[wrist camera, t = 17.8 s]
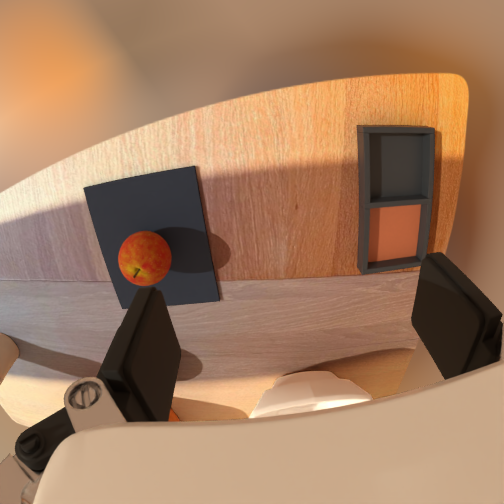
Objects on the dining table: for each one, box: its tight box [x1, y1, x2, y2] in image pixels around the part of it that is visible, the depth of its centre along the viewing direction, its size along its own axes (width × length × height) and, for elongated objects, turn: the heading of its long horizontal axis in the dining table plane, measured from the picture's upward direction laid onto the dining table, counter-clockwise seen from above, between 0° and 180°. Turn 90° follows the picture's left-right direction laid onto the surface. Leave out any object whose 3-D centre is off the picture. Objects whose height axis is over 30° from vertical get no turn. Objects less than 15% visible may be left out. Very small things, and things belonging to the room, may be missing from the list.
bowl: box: [249, 371, 373, 418], centre depth 52 cm, size 22×22×12 cm
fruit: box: [118, 231, 171, 286], centre depth 39 cm, size 7×7×8 cm
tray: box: [357, 125, 435, 275], centre depth 39 cm, size 20×11×2 cm, turn 7°
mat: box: [84, 166, 220, 309], centre depth 43 cm, size 20×16×1 cm
